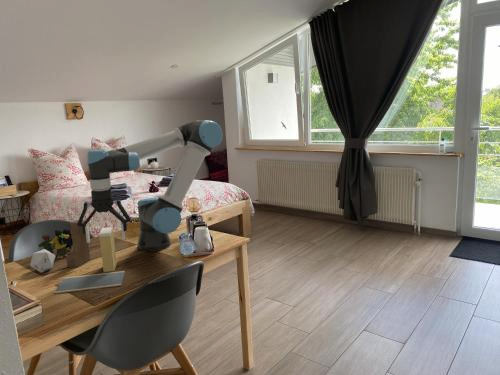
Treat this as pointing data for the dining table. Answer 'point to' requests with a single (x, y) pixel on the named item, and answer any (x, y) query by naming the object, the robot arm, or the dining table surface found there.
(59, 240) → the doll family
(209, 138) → the robot arm
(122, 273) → the felt mat
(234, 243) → the dining table surface
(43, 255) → the die
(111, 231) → the ochre slab
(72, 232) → the wooden block
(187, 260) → the dining table surface
